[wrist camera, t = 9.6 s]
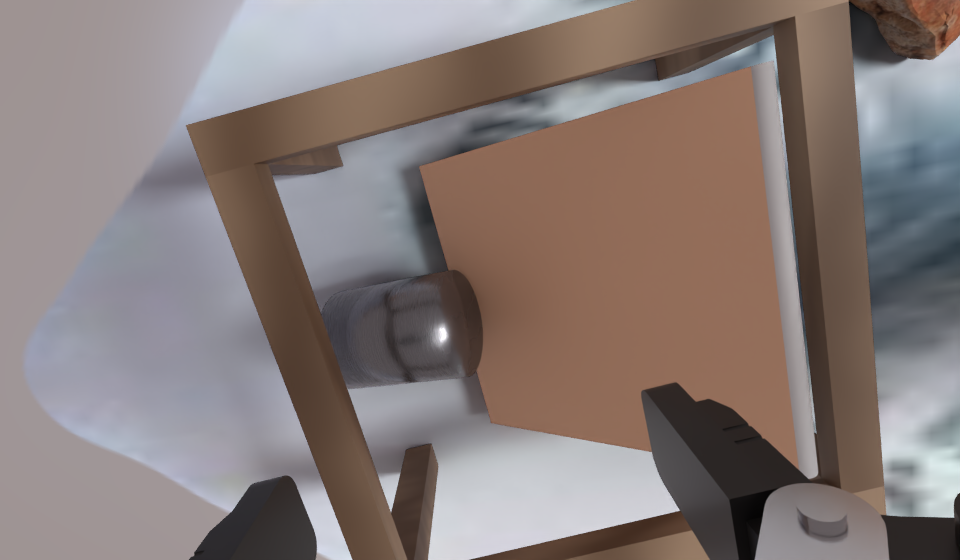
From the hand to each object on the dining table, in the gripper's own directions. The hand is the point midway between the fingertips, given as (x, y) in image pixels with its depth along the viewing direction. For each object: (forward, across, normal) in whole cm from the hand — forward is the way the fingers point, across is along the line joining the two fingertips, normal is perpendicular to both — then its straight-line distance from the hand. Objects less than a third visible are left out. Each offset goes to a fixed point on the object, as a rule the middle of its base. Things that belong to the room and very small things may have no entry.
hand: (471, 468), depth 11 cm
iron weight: (+11, 0, 0) cm, 11 cm away
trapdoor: (+10, -5, 0) cm, 12 cm away
